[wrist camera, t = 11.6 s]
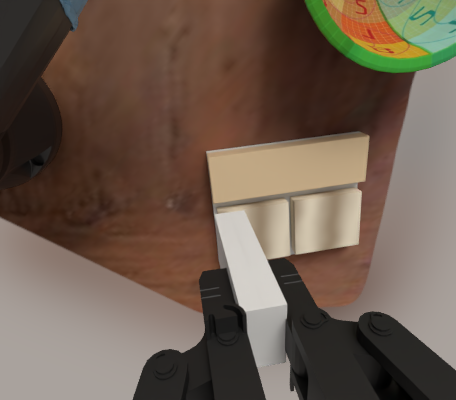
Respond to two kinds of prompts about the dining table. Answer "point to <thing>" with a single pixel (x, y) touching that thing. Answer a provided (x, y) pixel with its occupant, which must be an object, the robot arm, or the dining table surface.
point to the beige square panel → (325, 220)
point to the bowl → (389, 31)
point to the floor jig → (287, 169)
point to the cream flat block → (267, 224)
